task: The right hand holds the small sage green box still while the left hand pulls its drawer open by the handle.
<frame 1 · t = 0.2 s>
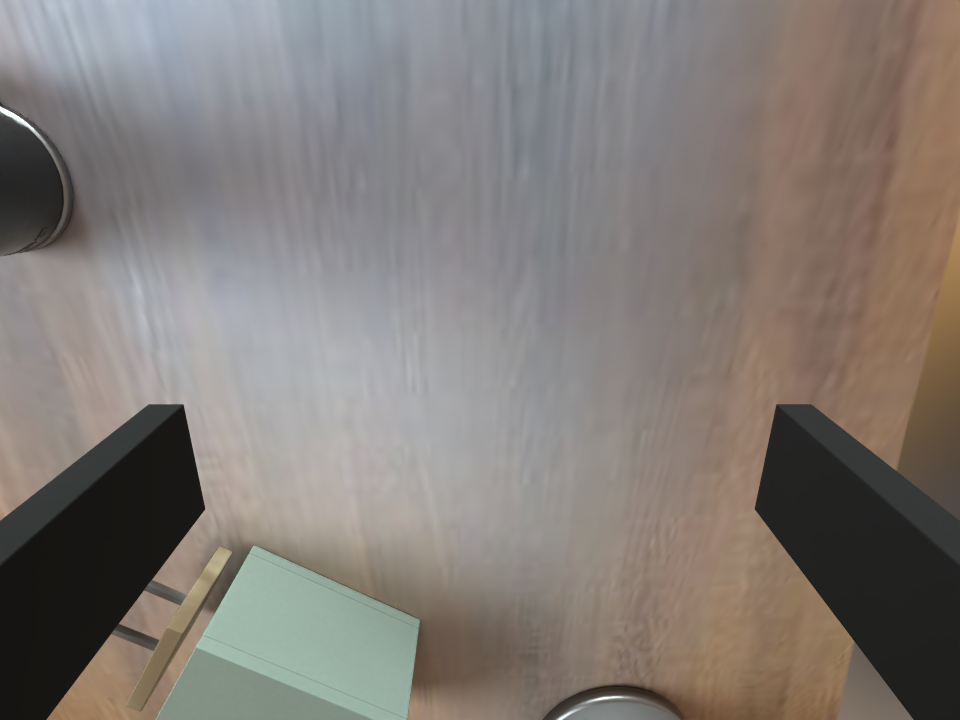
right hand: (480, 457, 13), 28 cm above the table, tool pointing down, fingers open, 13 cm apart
sage green box: (315, 621, 51), on the table
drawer: (231, 644, 45), point 5 cm above the table, slide at 1.2 cm
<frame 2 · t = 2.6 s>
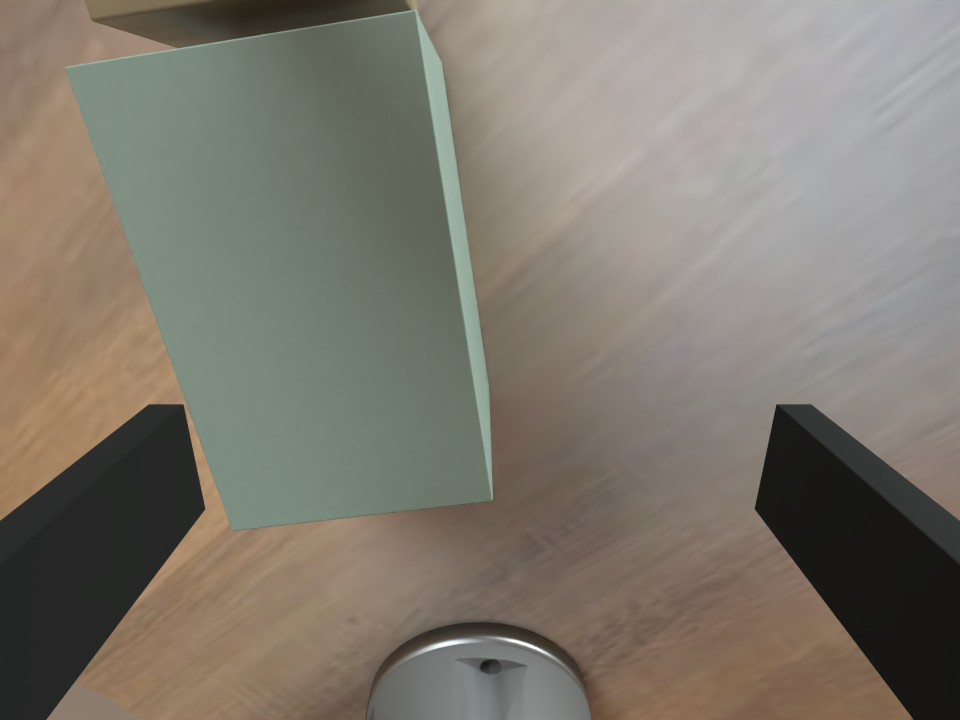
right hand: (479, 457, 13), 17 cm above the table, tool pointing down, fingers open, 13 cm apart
sage green box: (368, 255, 28), on the table
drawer: (310, 130, 21), point 5 cm above the table, slide at 1.2 cm
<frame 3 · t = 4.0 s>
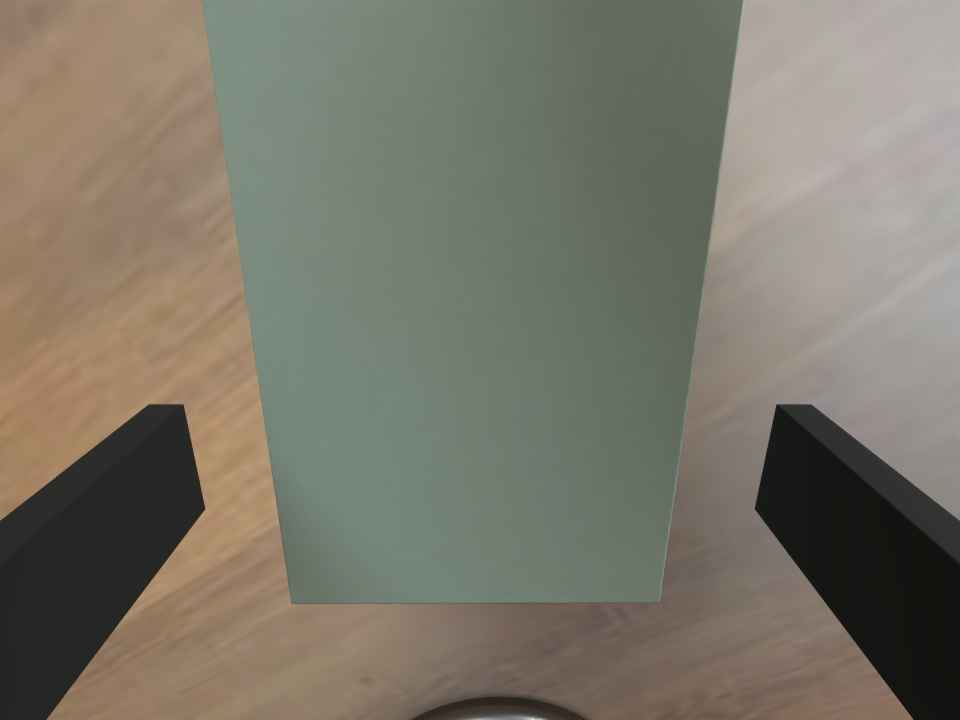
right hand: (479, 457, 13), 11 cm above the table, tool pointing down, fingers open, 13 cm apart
sage green box: (475, 247, 22), on the table
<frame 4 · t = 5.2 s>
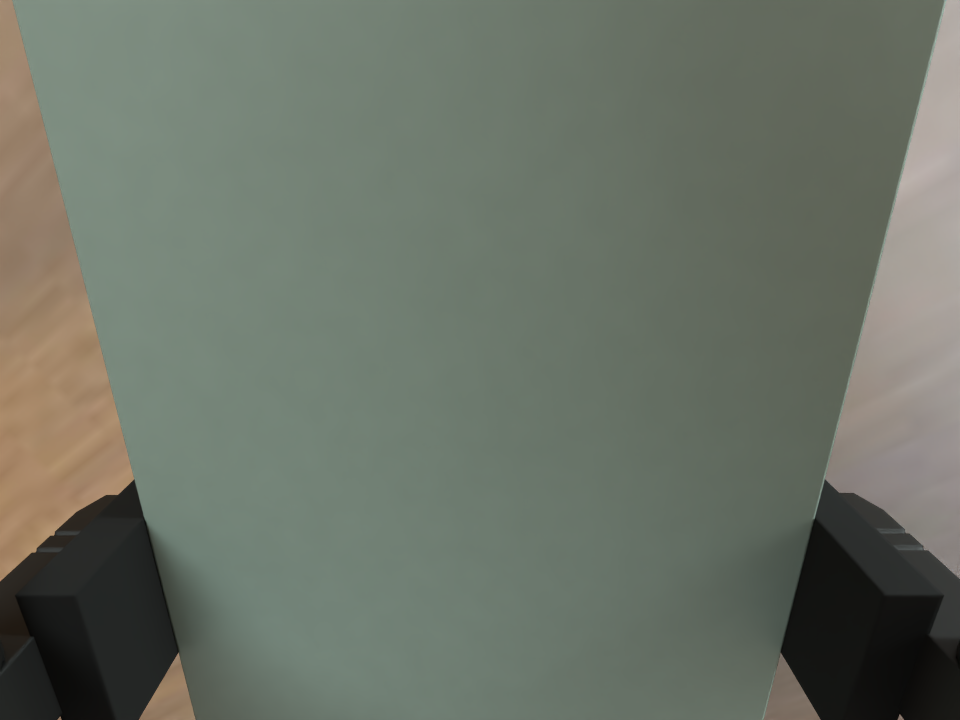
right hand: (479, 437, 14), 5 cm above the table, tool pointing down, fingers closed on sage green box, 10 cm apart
sage green box: (479, 263, 18), on the table, touching right hand
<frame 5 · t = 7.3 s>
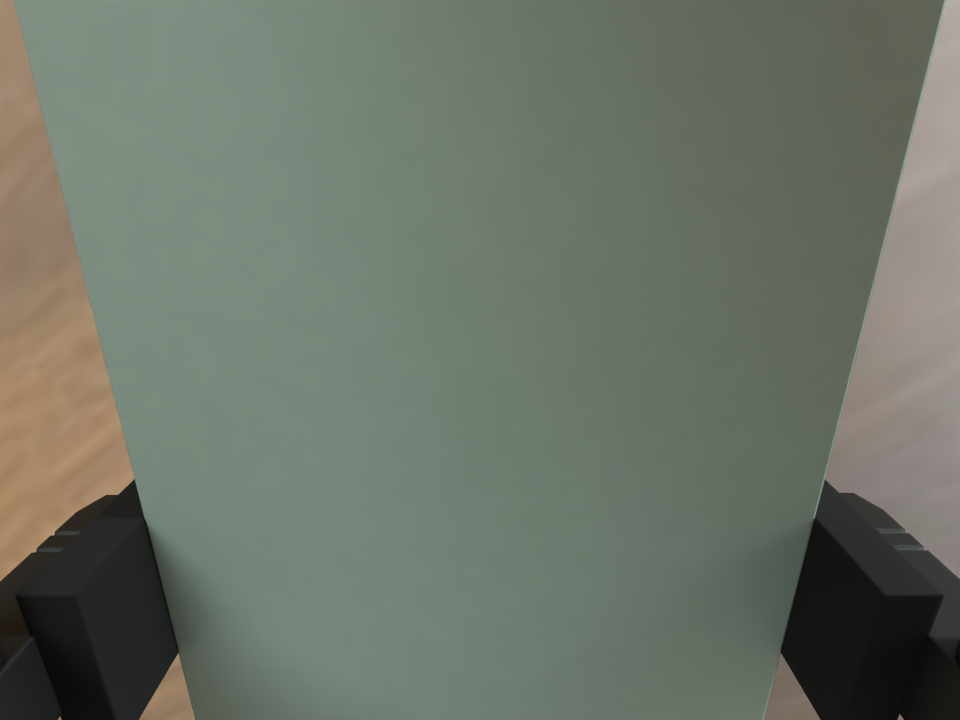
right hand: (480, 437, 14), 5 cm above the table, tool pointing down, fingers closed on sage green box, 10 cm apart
sage green box: (479, 264, 18), on the table, touching right hand
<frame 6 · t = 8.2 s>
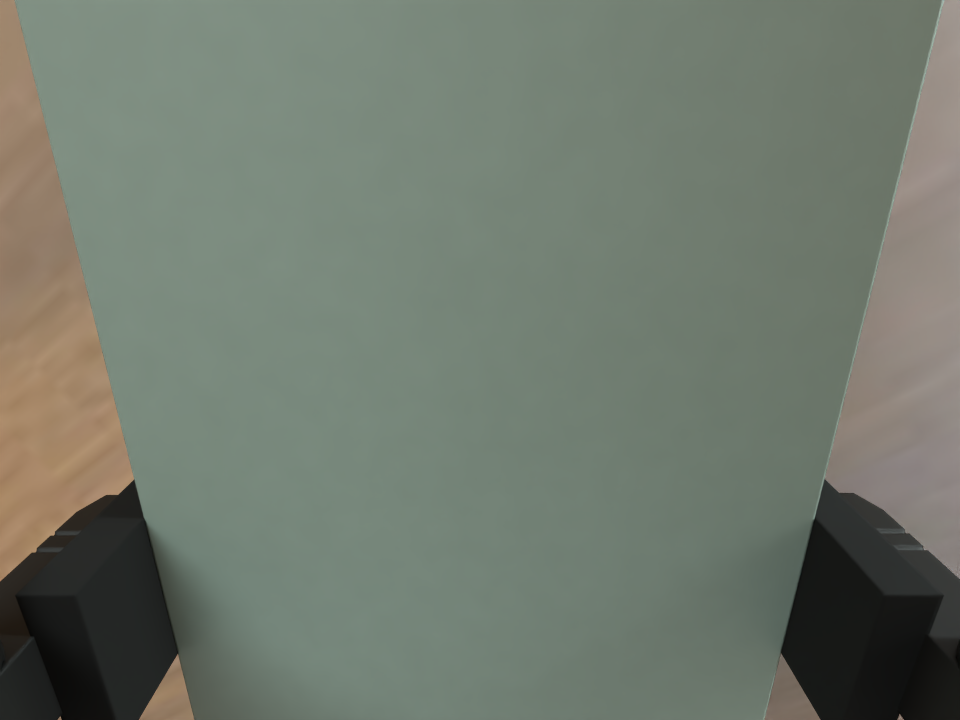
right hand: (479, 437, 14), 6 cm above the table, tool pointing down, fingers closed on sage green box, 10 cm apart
sage green box: (479, 264, 18), on the table, touching right hand
when the right hand's fingers open (6 cm above the table, at t = 9.9 s): sage green box stays where it is, on the table.
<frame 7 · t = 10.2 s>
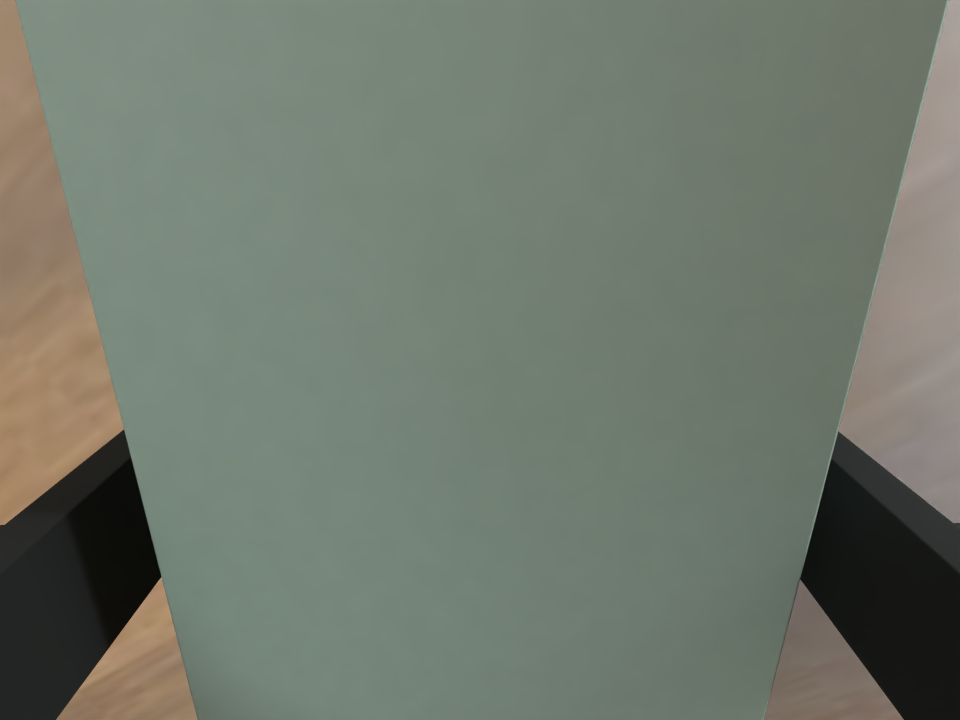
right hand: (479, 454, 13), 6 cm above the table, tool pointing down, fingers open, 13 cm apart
sage green box: (480, 249, 17), on the table
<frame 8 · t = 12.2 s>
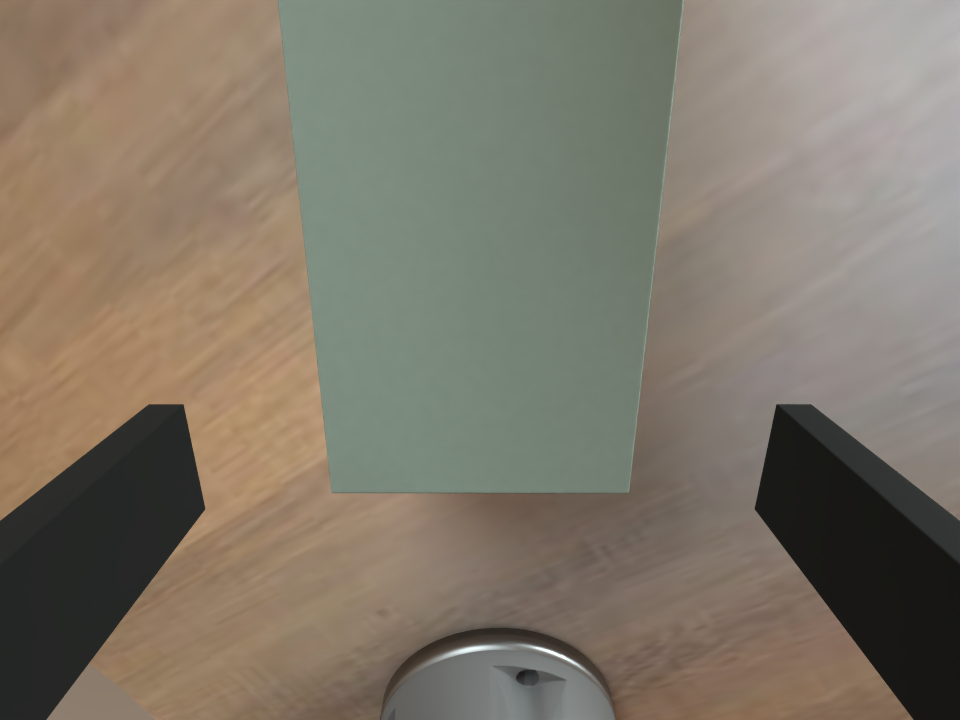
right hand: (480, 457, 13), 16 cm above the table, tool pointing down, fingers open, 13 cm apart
sage green box: (480, 215, 26), on the table
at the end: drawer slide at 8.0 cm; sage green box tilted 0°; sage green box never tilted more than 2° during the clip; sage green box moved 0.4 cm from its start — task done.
